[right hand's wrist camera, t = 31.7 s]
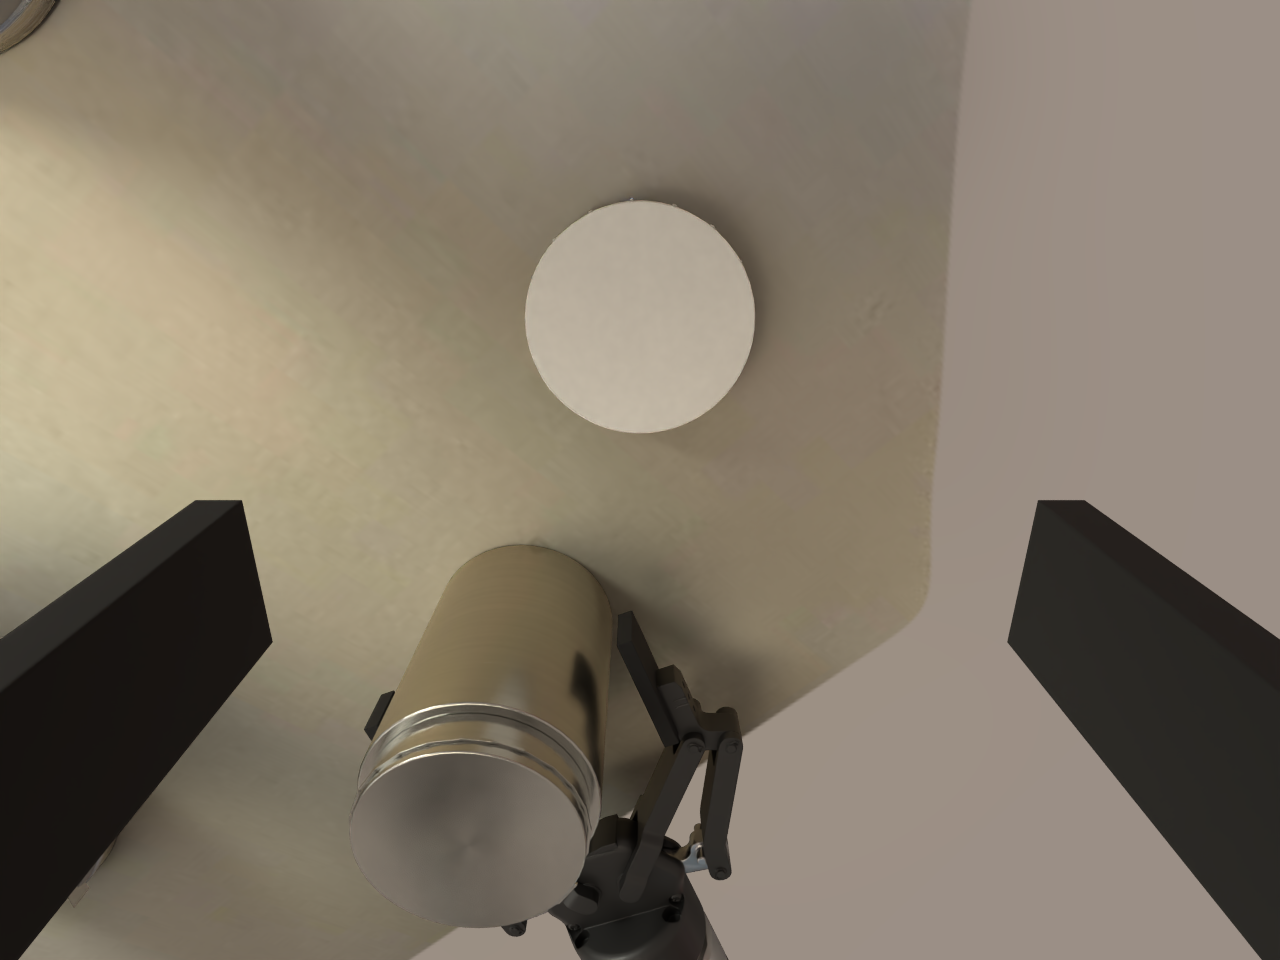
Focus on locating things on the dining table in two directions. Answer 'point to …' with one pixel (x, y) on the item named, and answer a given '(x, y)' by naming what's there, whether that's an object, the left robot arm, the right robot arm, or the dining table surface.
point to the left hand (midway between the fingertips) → (498, 668)
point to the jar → (492, 746)
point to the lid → (640, 317)
